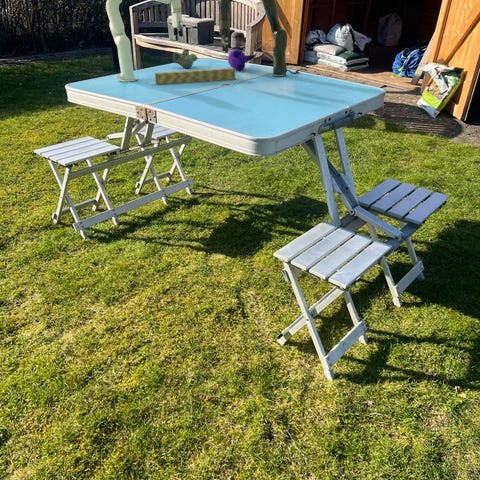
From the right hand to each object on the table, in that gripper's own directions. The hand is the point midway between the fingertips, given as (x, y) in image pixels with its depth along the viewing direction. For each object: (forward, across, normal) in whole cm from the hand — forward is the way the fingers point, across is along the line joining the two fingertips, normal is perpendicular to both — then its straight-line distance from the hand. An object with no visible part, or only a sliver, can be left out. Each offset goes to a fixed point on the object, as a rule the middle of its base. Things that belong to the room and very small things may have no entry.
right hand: (225, 51), depth 330 cm
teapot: (+20, +61, +22) cm, 67 cm away
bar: (+20, 0, +23) cm, 30 cm away
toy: (+19, +35, -20) cm, 45 cm away
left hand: (-9, +28, +30) cm, 42 cm away
